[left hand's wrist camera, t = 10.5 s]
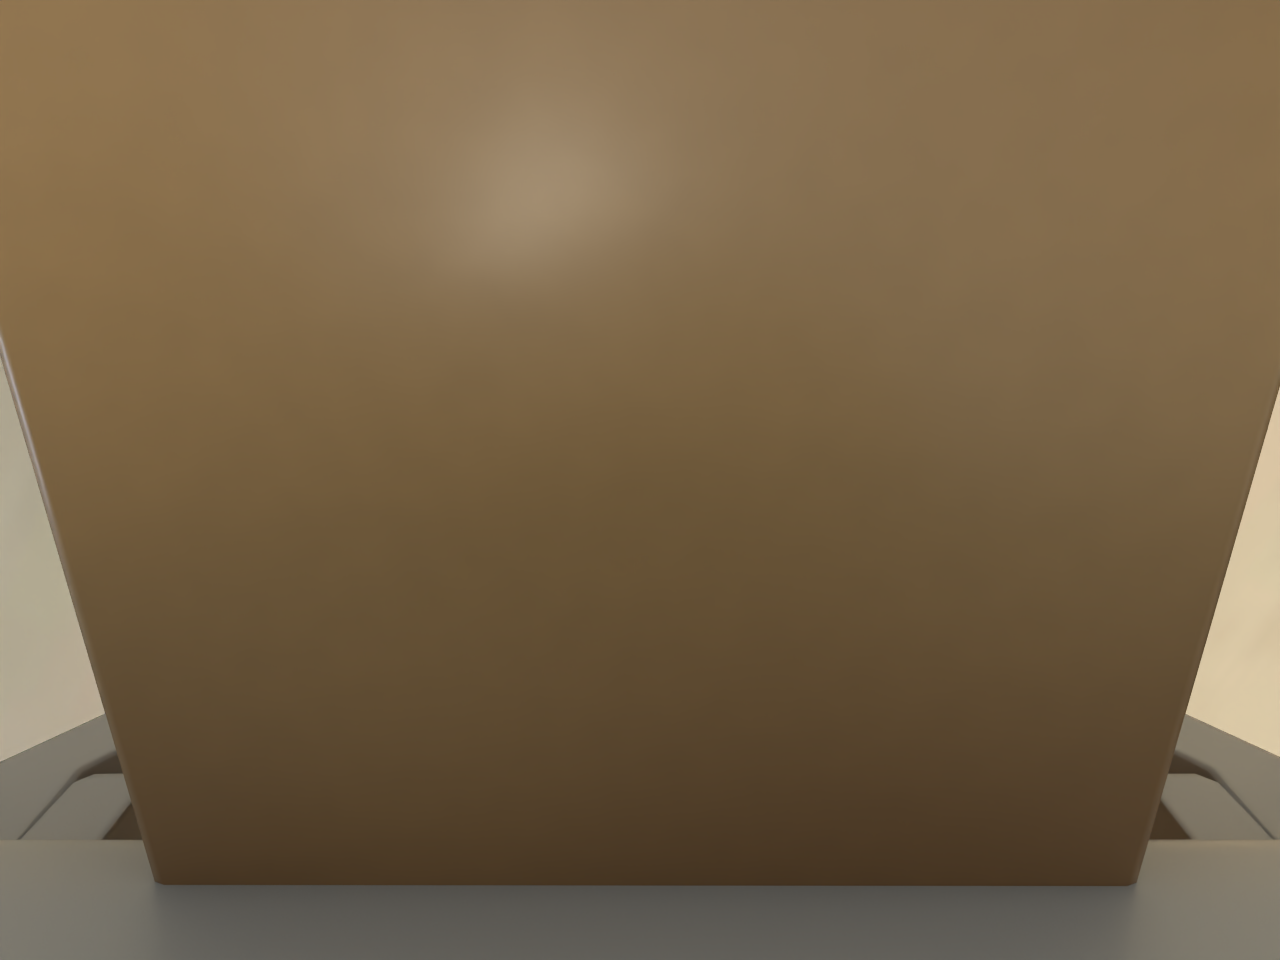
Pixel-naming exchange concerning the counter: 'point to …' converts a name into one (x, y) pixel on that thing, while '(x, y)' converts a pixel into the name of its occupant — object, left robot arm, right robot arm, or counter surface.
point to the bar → (642, 422)
